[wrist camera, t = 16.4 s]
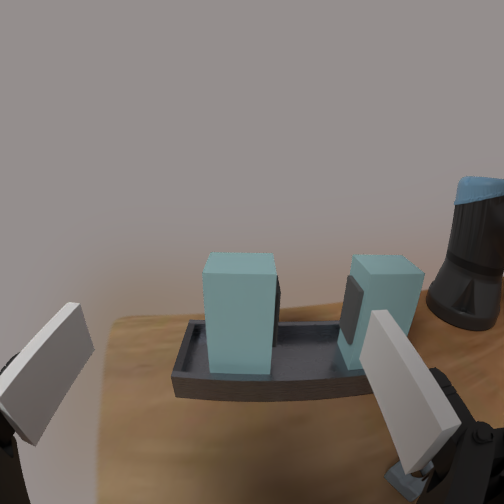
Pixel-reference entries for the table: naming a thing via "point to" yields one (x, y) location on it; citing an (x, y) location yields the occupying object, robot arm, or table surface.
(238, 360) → the finger
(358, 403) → the table surface
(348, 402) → the table surface
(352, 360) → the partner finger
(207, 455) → the table surface
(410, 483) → the bracket
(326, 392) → the dark gray tray
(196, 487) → the table surface
